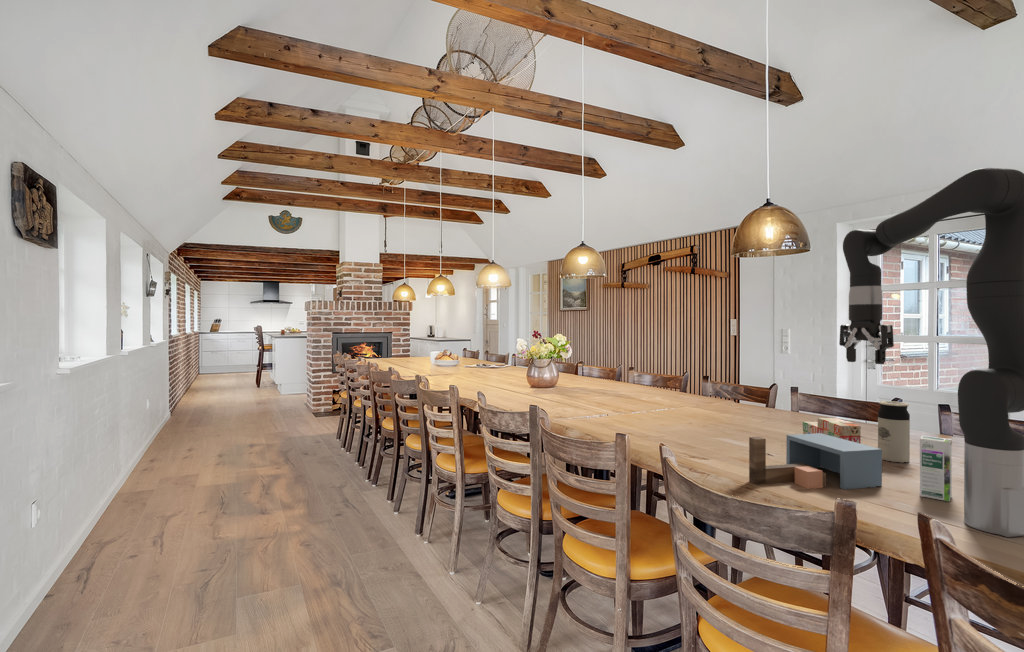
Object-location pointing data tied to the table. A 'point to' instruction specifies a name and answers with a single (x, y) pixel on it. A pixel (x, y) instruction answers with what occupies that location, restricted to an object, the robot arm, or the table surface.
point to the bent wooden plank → (772, 472)
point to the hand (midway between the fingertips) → (865, 362)
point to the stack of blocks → (834, 428)
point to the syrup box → (936, 468)
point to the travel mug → (894, 431)
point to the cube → (809, 477)
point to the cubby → (837, 458)
